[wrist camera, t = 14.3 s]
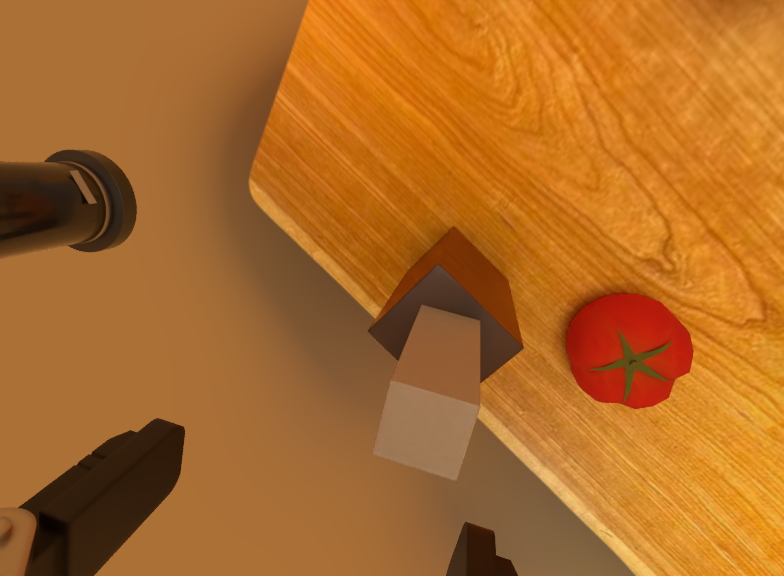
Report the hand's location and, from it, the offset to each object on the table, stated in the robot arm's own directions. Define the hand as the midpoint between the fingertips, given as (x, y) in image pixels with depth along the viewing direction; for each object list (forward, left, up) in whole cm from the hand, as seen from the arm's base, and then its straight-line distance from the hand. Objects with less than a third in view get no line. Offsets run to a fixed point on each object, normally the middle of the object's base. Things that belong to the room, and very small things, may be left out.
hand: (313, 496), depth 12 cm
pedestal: (+3, -2, -37) cm, 37 cm away
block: (+3, -2, -19) cm, 19 cm away
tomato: (+20, -4, -37) cm, 42 cm away
